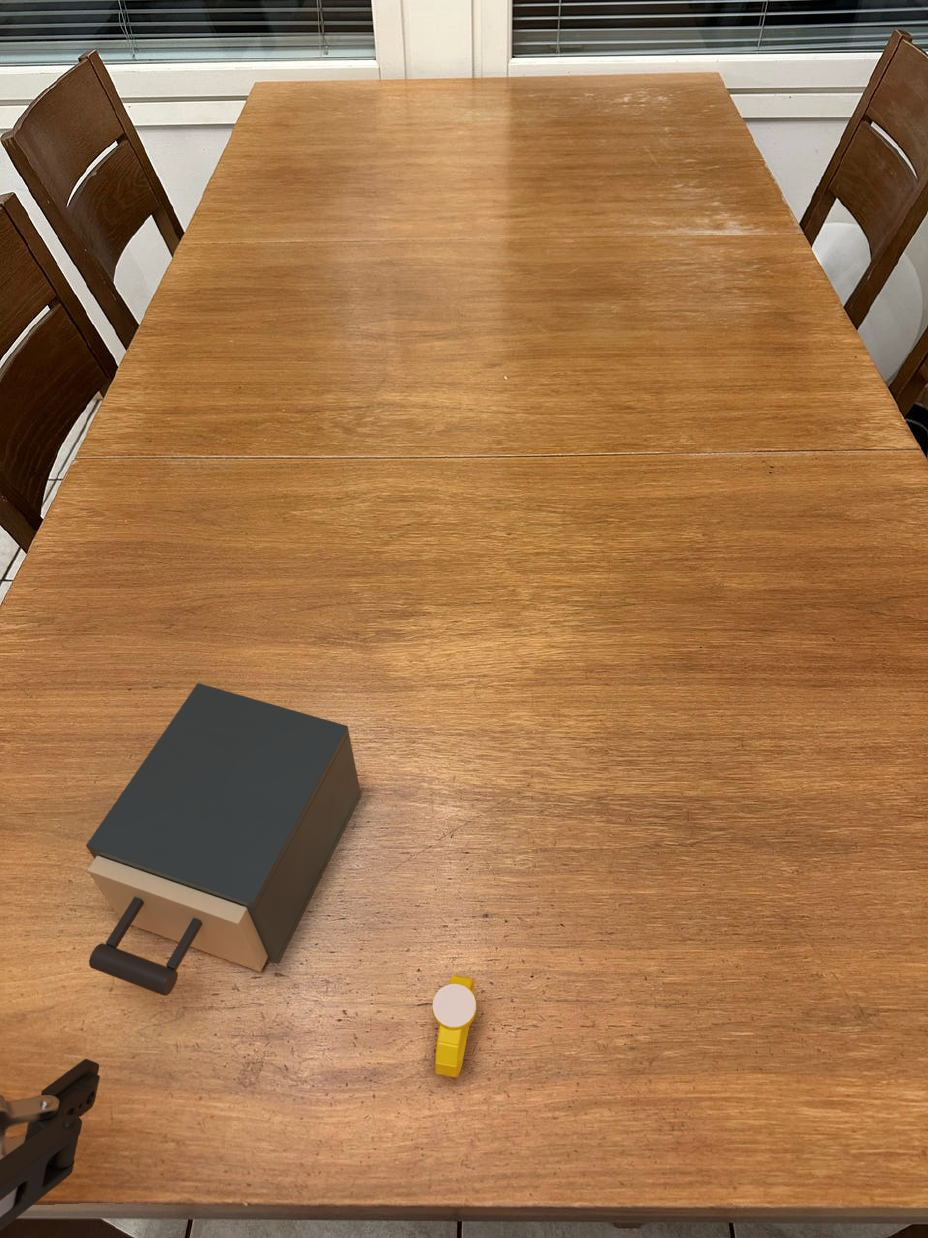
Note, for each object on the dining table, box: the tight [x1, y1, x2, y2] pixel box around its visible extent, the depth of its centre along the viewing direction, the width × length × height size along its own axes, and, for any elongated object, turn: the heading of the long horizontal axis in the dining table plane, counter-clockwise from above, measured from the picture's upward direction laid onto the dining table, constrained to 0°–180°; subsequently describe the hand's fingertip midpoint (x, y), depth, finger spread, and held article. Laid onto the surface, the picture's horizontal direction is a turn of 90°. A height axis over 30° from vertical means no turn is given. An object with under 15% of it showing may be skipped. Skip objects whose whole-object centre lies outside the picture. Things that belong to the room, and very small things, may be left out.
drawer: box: [87, 856, 268, 997], centre depth 67 cm, size 18×11×8 cm, turn 160°
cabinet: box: [85, 682, 362, 965], centre depth 70 cm, size 15×13×10 cm
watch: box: [431, 974, 477, 1078], centre depth 61 cm, size 6×3×6 cm, turn 169°
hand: (24, 1049), depth 51 cm, fingers open, 8 cm apart
